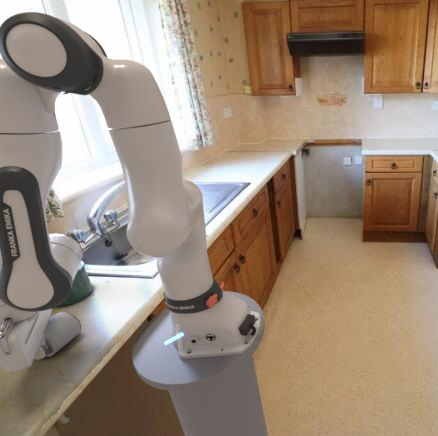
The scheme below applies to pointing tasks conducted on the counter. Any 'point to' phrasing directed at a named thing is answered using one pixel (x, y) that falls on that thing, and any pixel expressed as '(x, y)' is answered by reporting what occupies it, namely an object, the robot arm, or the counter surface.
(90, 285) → the pot
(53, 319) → the ceramic mug
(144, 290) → the counter surface
